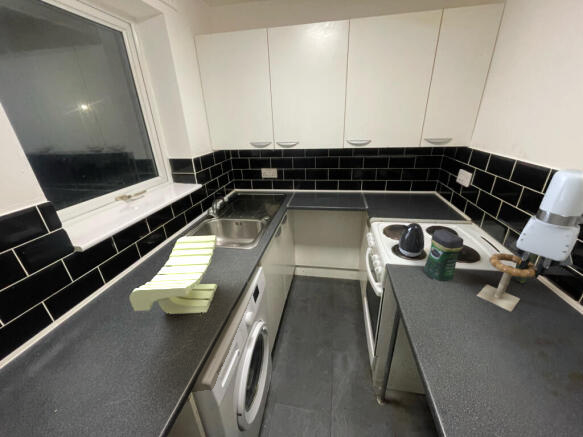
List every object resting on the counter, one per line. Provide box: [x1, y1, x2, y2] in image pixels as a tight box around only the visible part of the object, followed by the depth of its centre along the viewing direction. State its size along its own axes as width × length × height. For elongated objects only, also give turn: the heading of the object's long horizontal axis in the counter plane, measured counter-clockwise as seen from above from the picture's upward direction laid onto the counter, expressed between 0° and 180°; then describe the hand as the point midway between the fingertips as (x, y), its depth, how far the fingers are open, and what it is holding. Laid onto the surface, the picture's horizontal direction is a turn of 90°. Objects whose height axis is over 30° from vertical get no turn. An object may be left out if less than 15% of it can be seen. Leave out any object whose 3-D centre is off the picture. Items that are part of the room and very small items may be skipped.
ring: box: [489, 252, 538, 278], centre depth 71 cm, size 11×11×2 cm
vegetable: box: [513, 253, 538, 284], centre depth 81 cm, size 4×4×20 cm
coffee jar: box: [423, 228, 464, 282], centre depth 86 cm, size 10×8×19 cm
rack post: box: [476, 265, 521, 313], centre depth 74 cm, size 9×9×13 cm
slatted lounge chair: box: [129, 234, 218, 315], centre depth 80 cm, size 30×16×18 cm, turn 1°
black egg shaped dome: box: [397, 222, 425, 258], centre depth 101 cm, size 10×10×15 cm
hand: (529, 273), depth 68 cm, fingers closed on ring, 2 cm apart
